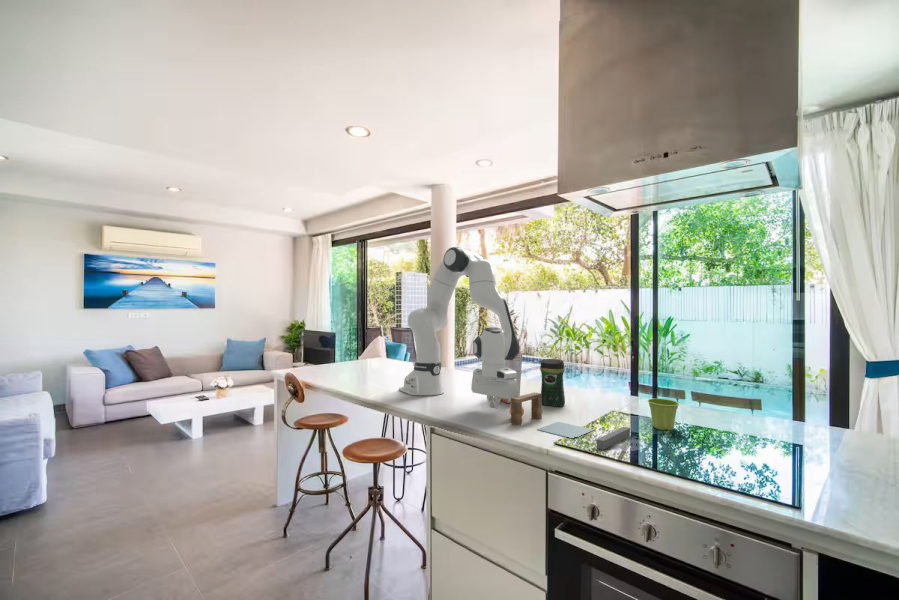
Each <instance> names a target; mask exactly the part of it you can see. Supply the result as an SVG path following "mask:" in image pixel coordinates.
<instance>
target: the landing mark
mask: <svg viewBox="0 0 899 600" xmlns="http://www.w3.org/2000/svg"><path fill="white" fill-rule="evenodd" d="M536 430H537V431H539V432H543V433H548V434H552V435H556V436H559V437H562V438H567V437H569V438H568V439H571V438H574V436H575V437H578V438H579V436H580V437H582V436H584V434H585V435H586V433H587V434H589V433H591V432H594V431H595V429H592V428H589V427H588V428H587V427H583V426H579V425H574V424H570V423H567V422H566V423H565V422H561V421H556V422H553V423H551V424H548V425H545V426H542V427H539V428H536ZM581 435H582V436H581Z"/></svg>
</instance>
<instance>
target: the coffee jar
mask: <svg viewBox="0 0 899 600" xmlns="http://www.w3.org/2000/svg"><path fill="white" fill-rule="evenodd" d="M539 367H540V368H539V370H540V373H541V387H540V393H541V394H542V406H547V405H548V406H547V407H564V406H565V403H566V398H565V388H564V373H565V371H566V369H565V362H564V360H563V359H559V358H557V359H556V358H544V359H541V361H540V366H539Z"/></svg>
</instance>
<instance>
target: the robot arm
mask: <svg viewBox="0 0 899 600" xmlns="http://www.w3.org/2000/svg"><path fill="white" fill-rule="evenodd" d="M462 276H465V277H466V278H468V284H469V285H468V287H469V295H470V298H471V300H472V301H473V302H474V304H476V305H477V306H478V307H480V308H483V309H486V310H489V311H491V312H493V313H494V314H496V316H497V317H498V319H499V322H500V328H499V327H493V326H492V327H491V326H490V327H486V328H484V329H483V330H482V334H481V335H478V336H476V338H475V339H474V340H473V342H472V344H473V345H472V350H473V351H472V353H473V355H474V356H475V357H476V358H477V359H478V360H482V361H481V369H480V368H475V369H474V370H473V372H472V378H471V386H470V387H471V392H472V393H474V394H479V395H484V396H486V399H487V402H488V403H489V408H490V409H495V410H498V409H499V404H500V402H501V401H502V400H501V398H503V399H509V400H511V398H514V397H518V383H517V380H516V379H515V377H517V372H516V371H514V370H512V369H510V368H508V367H507V366H505V360H513V359H514V358H515V357H516V356H517V355H518V354H519V353H521V352H520V351H521V348H520V342H519V340H518V337H517V335H516V331H515V328H514V325H513V321H512V316H511V313H510V308H509V306H508V303H507V301H506V298H505V297H503V296H502V295H501V294H500V292H499V291H498V288H497V281H496V276H495V271H494V267H493V264H492V262H491V261H490V260H488V259H487V258H486V257H484V256H483V255H482V254H479V253H477V252H475V251H472V250H468V249H465V248H462V247H458V246H453V247H449V248H448V249H447V250H446V252H445V253H444V256H443V259H442V261H441V262H440V264H439V265H438V267H437V269H436V271H435V272H434V274H433V277H432V279H431V282H430V285H429V287H428V290H427V293H426V295H427V305H426V307H421V308H417V309H415V310H412V311H411V312H410V313H409V314H408V316H407V326H408V327H409V329H410V330H411V331H412V334H413V337H414V341H415V347H416V350H415V351H416V352H415V353H416V356H415V358H416V361H415V362H413V363H412V366H413V370H412V371H411V372H410V373H408V374H407V375H406V376H405V377H404V379H403V380H404V381H403V386H401V387H398V391H400V392H403V393H405V394H408V395H410V396H436V395H437V396H438V395H442V394H443V393H444V390H445V389H444V387H443V376H442V372H441V370H442V362H441V344H440V342H439V341H438V339H437V335H436V332H439V331H441V330H443V329H444V328H446V326H447V325H448V322H449V317H448V309H449V305H450V301H451V298H452V296H453V294H454V291H455V289H456V286H457V284H458V281H459V279H460V278H461V277H462ZM493 399H494V400H495V401H494V400H493Z"/></svg>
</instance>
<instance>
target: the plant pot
mask: <svg viewBox="0 0 899 600" xmlns="http://www.w3.org/2000/svg"><path fill="white" fill-rule="evenodd" d="M647 402H648V406H649V408H650V415H651V423H652V427H654V428H655V429H656V430H661V431H665V430H668V431H672V430H674V428H675V423H676V421H675V420H676V414H677V410H678V407H679V406H680V402H678V401H676V400H673V399H665V398H649V399H647Z"/></svg>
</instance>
